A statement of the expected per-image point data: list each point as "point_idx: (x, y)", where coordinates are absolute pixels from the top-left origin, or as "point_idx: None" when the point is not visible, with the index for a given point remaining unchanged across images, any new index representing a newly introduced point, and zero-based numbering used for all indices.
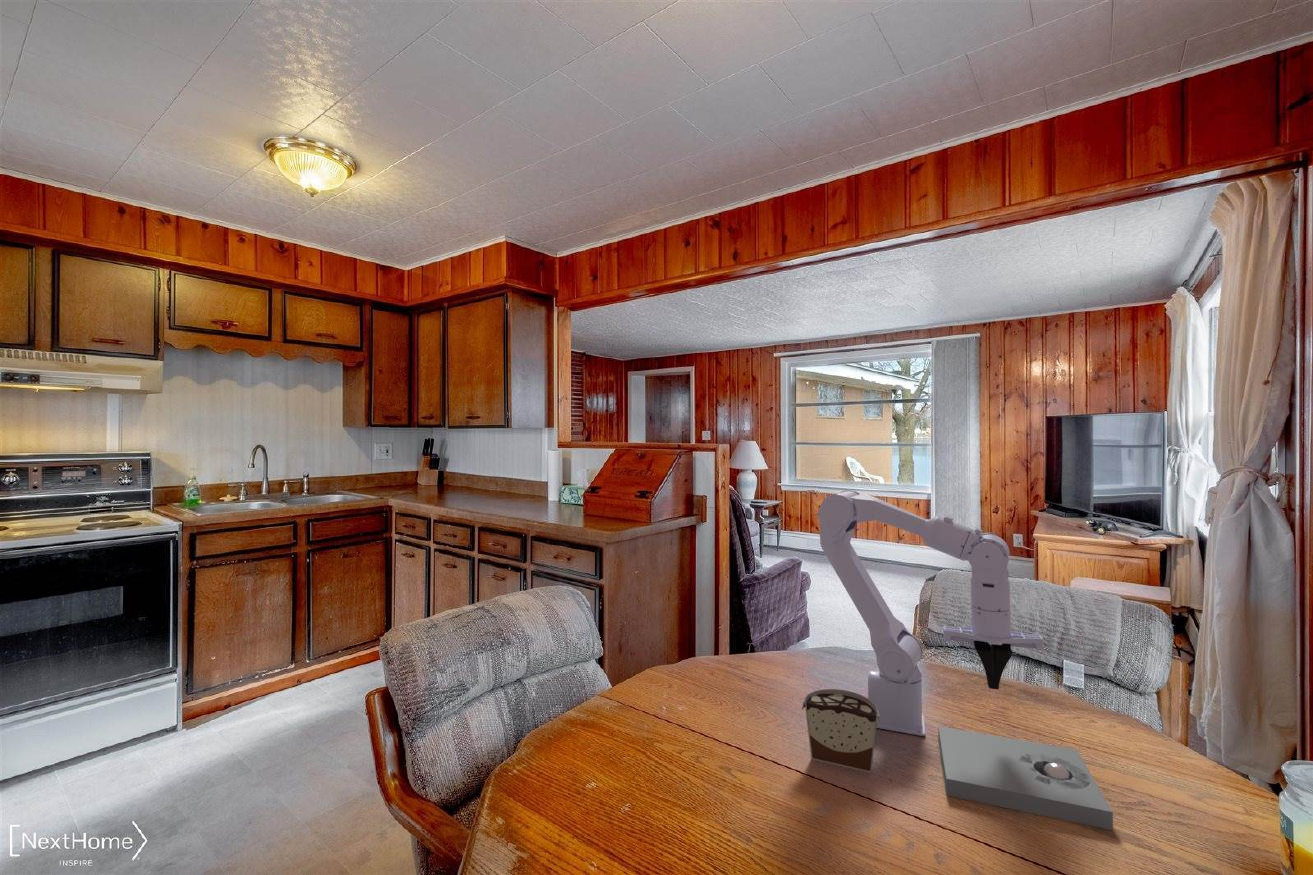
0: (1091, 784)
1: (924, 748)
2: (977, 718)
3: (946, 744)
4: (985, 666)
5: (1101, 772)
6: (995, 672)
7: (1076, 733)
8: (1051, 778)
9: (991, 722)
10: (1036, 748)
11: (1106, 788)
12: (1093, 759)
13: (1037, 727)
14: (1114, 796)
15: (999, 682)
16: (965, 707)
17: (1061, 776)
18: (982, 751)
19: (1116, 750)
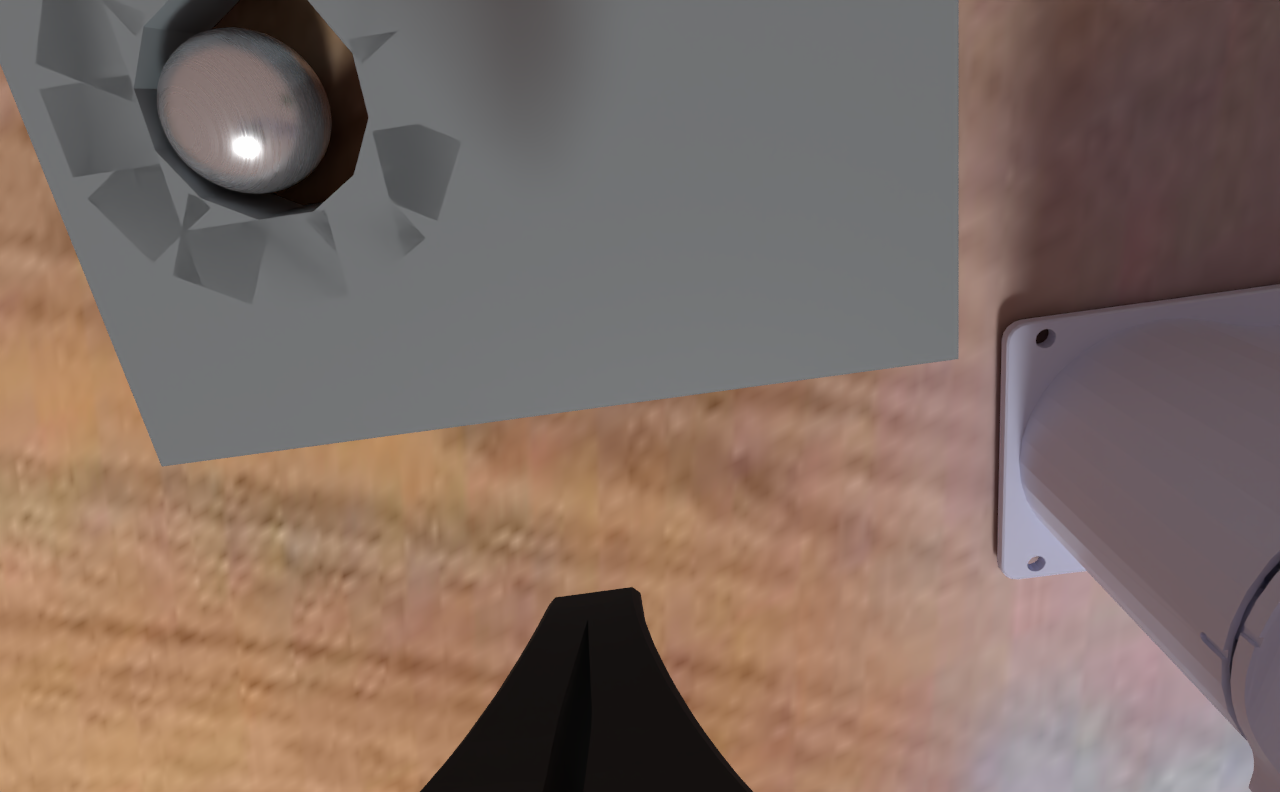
0: (26, 40)
1: (1014, 181)
2: (701, 681)
3: (919, 106)
4: (688, 745)
5: (101, 413)
6: (556, 713)
7: (246, 744)
8: (265, 38)
9: None
10: (367, 362)
11: (58, 250)
12: (150, 528)
13: (416, 721)
14: (12, 182)
15: (528, 645)
16: (760, 766)
17: (193, 38)
18: (681, 131)
19: (70, 666)
